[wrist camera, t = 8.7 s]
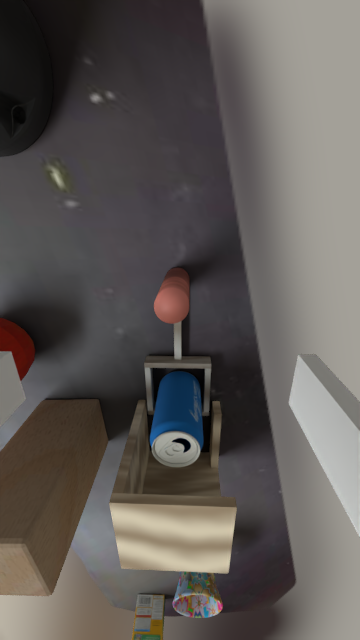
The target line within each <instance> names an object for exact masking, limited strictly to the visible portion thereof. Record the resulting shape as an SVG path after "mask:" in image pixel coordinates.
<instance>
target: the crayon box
mask: <svg viewBox="0 0 360 640" xmlns="http://www.w3.org/2000/svg"><path fill="white" fill-rule="evenodd" d="M164 610H165V596H164V594H162V595H147V594H146V595H145V594H138V598H137V605H136V613H135V621H134V628H133V635H132V640H163V626H164Z"/></svg>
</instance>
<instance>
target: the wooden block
mask: <svg viewBox="0 0 360 640" xmlns="http://www.w3.org/2000/svg"><path fill="white" fill-rule="evenodd" d="M107 444H108V437H107V433H106V429H105V424H104V420H103V416H102V411H101V407H100V403H99V400H98V399H67V400H43V401H41V402H40V404H39V405H38V406H37V407H36V409H35V410H34V411H33V412H32V414H31V415H30V416H29V417H28V418H27V420H26V421H25V422H24V423H23V425H22V426H21V427H20V428H19V429H18V431H17V432H16V433H15V434H14V436H13V437H12V438H11V439H10V441H9V442H8V443H7V444H6V445H5V447H4V448H3V449H2V450H1V452H0V595H27V596H49V595H52V593H53V591H54V588H55V586H56V583H57V580H58V578H59V575H60V572H61V570H62V567H63V564H64V562H65V559H66V556H67V553H68V551H69V548H70V545H71V542H72V540H73V537H74V534H75V531H76V529H77V526H78V523H79V521H80V518H81V515H82V512H83V510H84V507H85V504H86V501H87V499H88V496H89V493H90V491H91V488H92V485H93V482H94V480H95V477H96V474H97V471H98V469H99V466H100V463H101V461H102V458H103V455H104V452H105V450H106V447H107Z"/></svg>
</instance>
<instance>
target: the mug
mask: <svg viewBox="0 0 360 640" xmlns="http://www.w3.org/2000/svg"><path fill="white" fill-rule="evenodd" d="M173 607H174V609H175V610H176V611H177V612H179V613H180V614H182V615H185V616H189V617H194V618H205V617H211V616H214V615H216V614H218V613H219V612H220V611H221V610H222V608H223V603H222V601H221V598H220V595H219V592H218V589H217V586H216V582H215V577H214V573H207V572H186V571H180V578H179V583H178V587H177V591H176V594H175V597H174V600H173Z"/></svg>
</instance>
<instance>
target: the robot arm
mask: <svg viewBox="0 0 360 640" xmlns="http://www.w3.org/2000/svg"><path fill="white" fill-rule="evenodd" d="M52 98H53V75H52V67H51V61H50V57H49V53H48V49H47V46H46V43H45V40H44V37H43V35H42V32H41V30H40V28H39V26H38V24H37V22H36V20H35V18H34V16H33V14H32V13H31V11H30V9H29V8H28V6H27V5H26V4H25V2H24V1H23V0H0V157H1V156H10V155H14V154H17V153H19V152H21V151H23V150H25V149H26V148H28V147H29V146H30V145H31V144H33V143H34V142H35V140H36V139H37V138H38V137H39V135H40V134H41V132H42V131H43V129H44V127H45V125H46V123H47V120H48V117H49V114H50V110H51V105H52ZM25 400H26V397H25V394H24V391H23V388H22V384H21V381H20V378H19V375H18V372H17V368H16V365H15V362H14V359H13V356H12V353H11V351H0V427H1V426H2V425H3V424H4V423H5V422H6V420H7V419H8V418H9V417H10V416H11V415H12V414H13V413H14V412H15V411H16V409H17V408H18V407H19V406H20V405H21V404H22V403H23V402H24V401H25ZM289 406H290V407H291V409H292V411H293V413H294V415H295V417H296V419H297V420H298V422H299V424H300V426H301V428H302V430H303V431H304V434H305V435H306V437H307V439H308V441H309V443H310V445H311V447H312V449H313V451H314V452H315V454H316V456H317V458H318V460H319V462H320V464H321V466H322V467H323V469H324V471H325V473H326V475H327V477H328V479H329V481H330V482H331V484H332V486H333V488H334V490H335V492H336V494H337V496H338V497H339V499H340V501H341V503H342V505H343V507H344V509H345V511H346V513H347V514H348V516H349V518H350V520H351V522H352V524H353V526H354V528H355V529H356V531H357V533H358V535H359V537H360V402H359V400H357V398H356V397H355V396H354V395H353V394H352V393H351V392H350V391H349V390H348V389H347V388H346V386H345V385H344V384H343V383H342V382H341V381H340V380H339V379H338V378H337V377H336V376H335V375H334V374H333V372H332V371H331V370H330V369H329V368H328V367H327V366H326V365H325V364H324V363H323V362H322V361H321V359H320V358H318V356H317V355H313V354H312V355H311V354H310V355H309V354H299V355H298V358H297V363H296V369H295V374H294V378H293V384H292V388H291V393H290V398H289Z"/></svg>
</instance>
